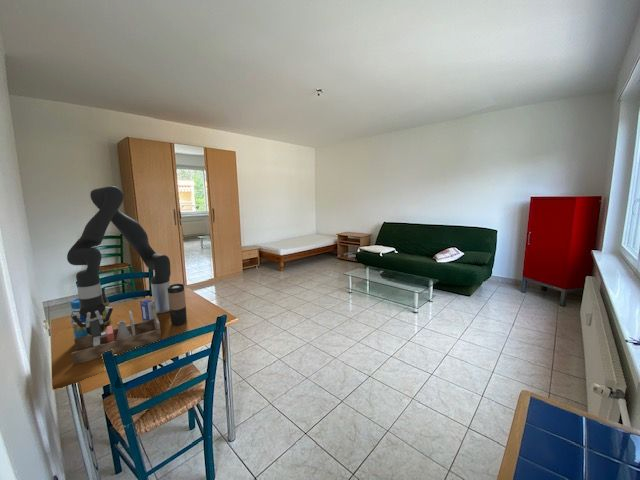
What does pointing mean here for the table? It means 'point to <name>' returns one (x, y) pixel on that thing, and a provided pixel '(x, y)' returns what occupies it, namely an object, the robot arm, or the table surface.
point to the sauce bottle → (105, 305)
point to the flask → (122, 331)
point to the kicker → (97, 333)
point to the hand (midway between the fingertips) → (96, 332)
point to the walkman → (147, 309)
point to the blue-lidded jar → (76, 308)
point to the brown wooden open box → (118, 344)
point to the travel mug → (177, 304)
